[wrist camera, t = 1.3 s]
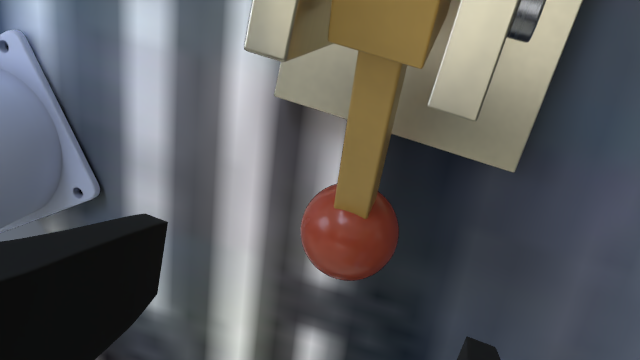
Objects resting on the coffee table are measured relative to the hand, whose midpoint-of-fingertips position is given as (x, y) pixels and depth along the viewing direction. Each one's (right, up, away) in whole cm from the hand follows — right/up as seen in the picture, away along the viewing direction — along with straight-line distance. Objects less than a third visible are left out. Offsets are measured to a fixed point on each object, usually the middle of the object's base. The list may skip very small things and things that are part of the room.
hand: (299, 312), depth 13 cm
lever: (+2, +5, +4) cm, 7 cm away
